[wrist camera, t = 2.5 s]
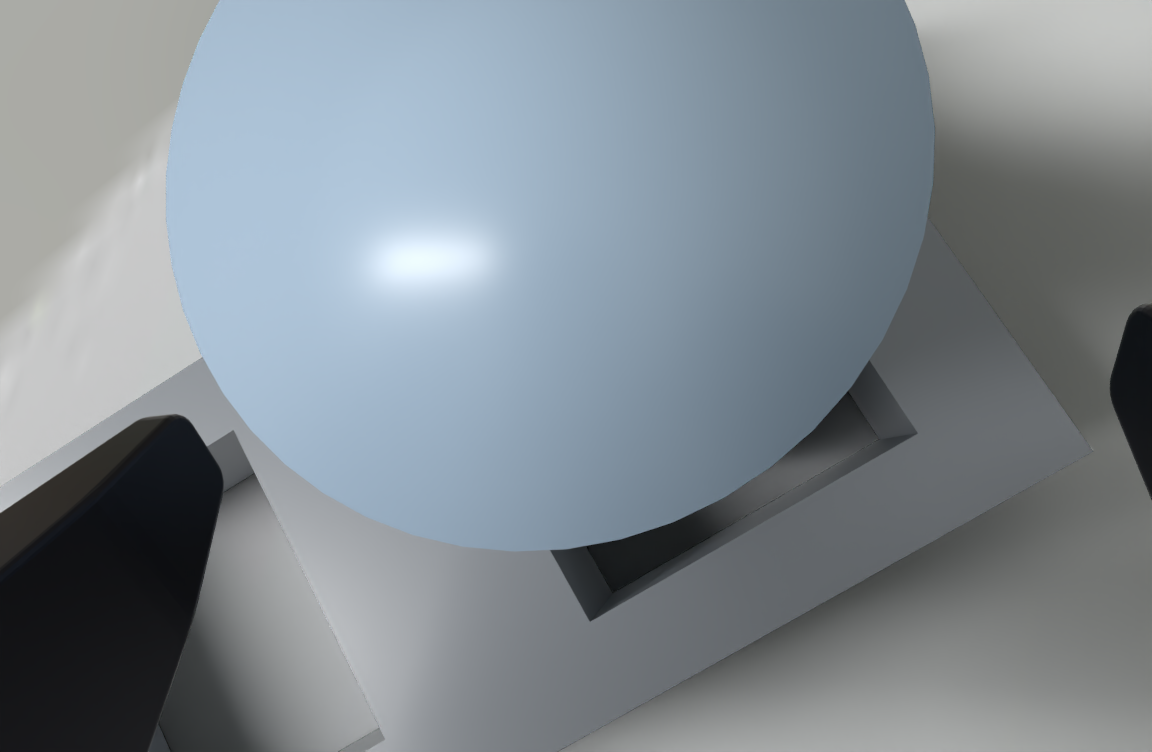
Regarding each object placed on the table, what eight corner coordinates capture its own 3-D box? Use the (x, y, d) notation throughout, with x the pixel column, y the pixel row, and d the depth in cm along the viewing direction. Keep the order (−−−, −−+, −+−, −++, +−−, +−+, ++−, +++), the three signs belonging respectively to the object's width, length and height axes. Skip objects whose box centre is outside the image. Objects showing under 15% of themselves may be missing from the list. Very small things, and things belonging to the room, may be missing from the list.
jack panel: (760, 76, 17) (770, -7, 14) (1019, 454, 15) (1093, 451, 12) (-4, 558, 18) (-139, 576, 16) (156, 942, 17) (38, 1042, 14)
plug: (720, 519, 16) (743, 696, 4) (537, 440, 17) (55, 370, 4) (796, 331, 16) (1061, -102, 4) (611, 262, 17) (340, -278, 5)
